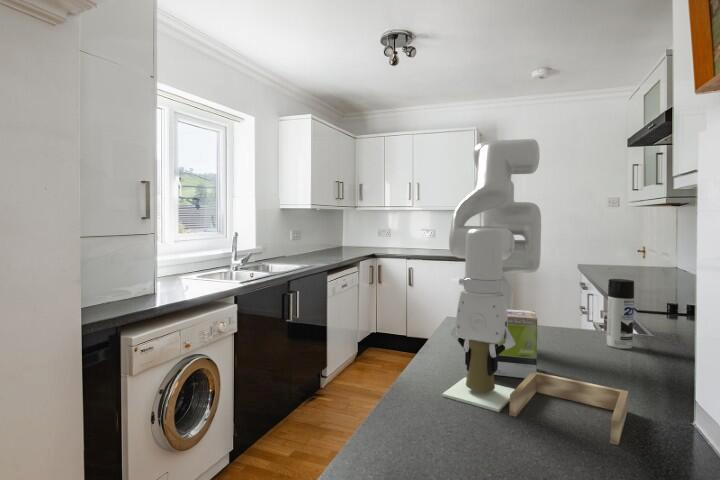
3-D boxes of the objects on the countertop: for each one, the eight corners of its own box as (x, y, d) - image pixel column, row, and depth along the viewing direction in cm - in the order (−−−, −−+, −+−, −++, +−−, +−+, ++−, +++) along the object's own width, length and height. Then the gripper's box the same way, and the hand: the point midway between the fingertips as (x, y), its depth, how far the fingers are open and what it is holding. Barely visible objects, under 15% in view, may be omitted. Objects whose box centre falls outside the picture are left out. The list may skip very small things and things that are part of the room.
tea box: (534, 367, 109) (536, 310, 108) (536, 381, 99) (538, 318, 99) (473, 360, 114) (474, 305, 113) (470, 373, 104) (471, 313, 104)
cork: (496, 392, 88) (497, 340, 87) (466, 390, 89) (467, 338, 89) (493, 381, 94) (494, 332, 93) (465, 379, 95) (466, 330, 95)
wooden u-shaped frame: (509, 415, 82) (509, 394, 82) (531, 388, 95) (532, 371, 95) (618, 445, 71) (619, 421, 71) (627, 411, 84) (628, 391, 84)
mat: (442, 396, 90) (442, 393, 90) (464, 379, 100) (464, 377, 100) (498, 412, 83) (499, 409, 83) (517, 392, 93) (517, 389, 93)
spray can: (622, 350, 124) (625, 282, 123) (600, 344, 130) (603, 278, 129) (637, 348, 126) (640, 280, 125) (615, 342, 132) (618, 277, 131)
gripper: (439, 284, 92) (437, 367, 93) (518, 293, 83) (515, 386, 84) (453, 280, 98) (452, 358, 99) (528, 288, 89) (526, 375, 90)
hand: (481, 370), depth 91 cm, fingers closed on cork, 3 cm apart
